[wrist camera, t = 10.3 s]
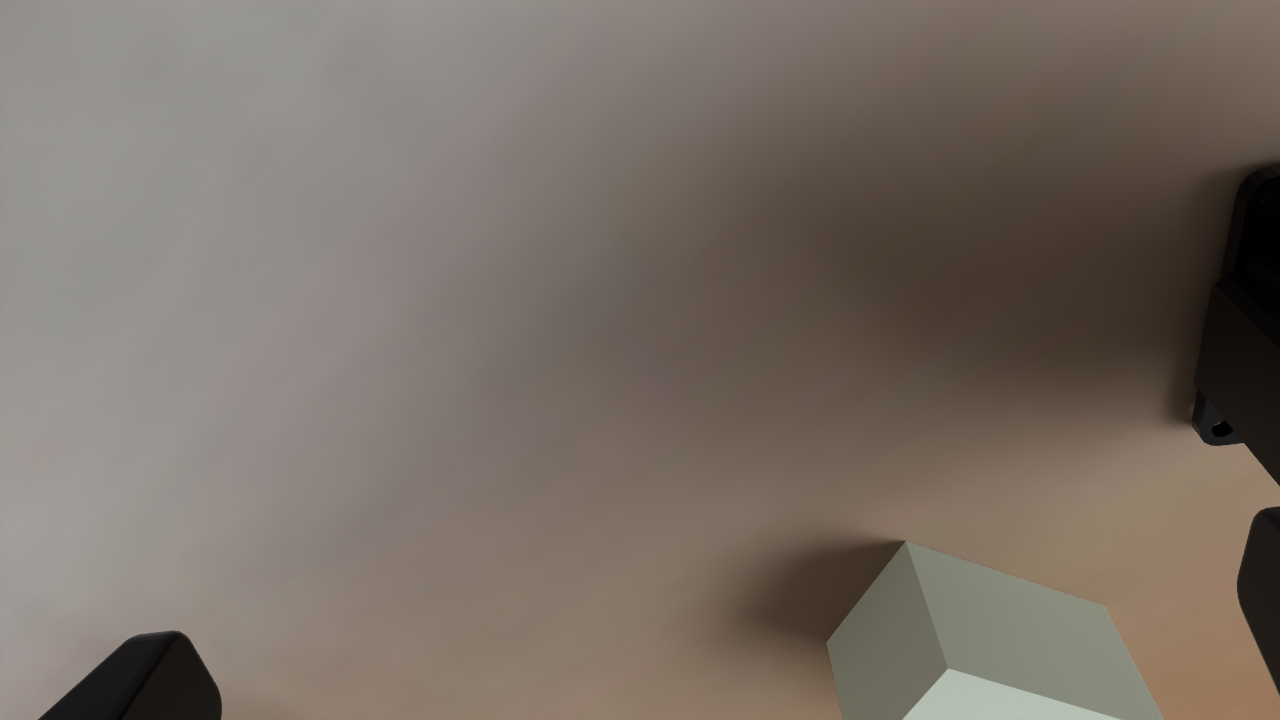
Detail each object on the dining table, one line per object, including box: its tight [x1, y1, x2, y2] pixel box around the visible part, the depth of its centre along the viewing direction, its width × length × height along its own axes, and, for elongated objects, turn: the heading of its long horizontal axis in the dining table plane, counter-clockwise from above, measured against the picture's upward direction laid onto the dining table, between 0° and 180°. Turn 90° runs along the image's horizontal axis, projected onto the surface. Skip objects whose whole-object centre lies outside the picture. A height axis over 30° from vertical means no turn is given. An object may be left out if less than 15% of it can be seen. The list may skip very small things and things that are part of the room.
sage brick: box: [826, 541, 1164, 720], centre depth 25 cm, size 6×4×4 cm, turn 67°
